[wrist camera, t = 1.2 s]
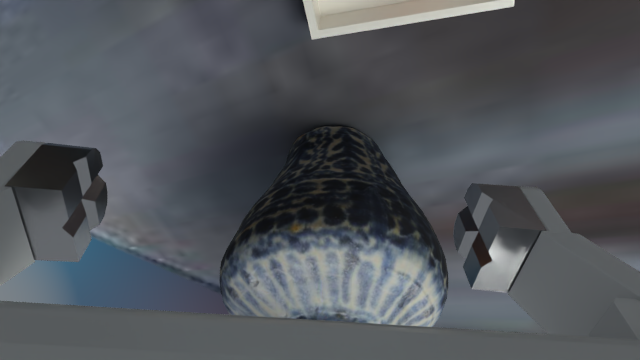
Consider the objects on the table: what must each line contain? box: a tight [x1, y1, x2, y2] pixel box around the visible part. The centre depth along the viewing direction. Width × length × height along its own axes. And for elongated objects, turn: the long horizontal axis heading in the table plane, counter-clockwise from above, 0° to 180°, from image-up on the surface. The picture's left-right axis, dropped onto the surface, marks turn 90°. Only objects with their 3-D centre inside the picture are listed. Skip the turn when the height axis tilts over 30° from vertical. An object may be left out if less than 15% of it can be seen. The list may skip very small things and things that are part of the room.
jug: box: [220, 126, 448, 327], centre depth 42 cm, size 21×19×30 cm
